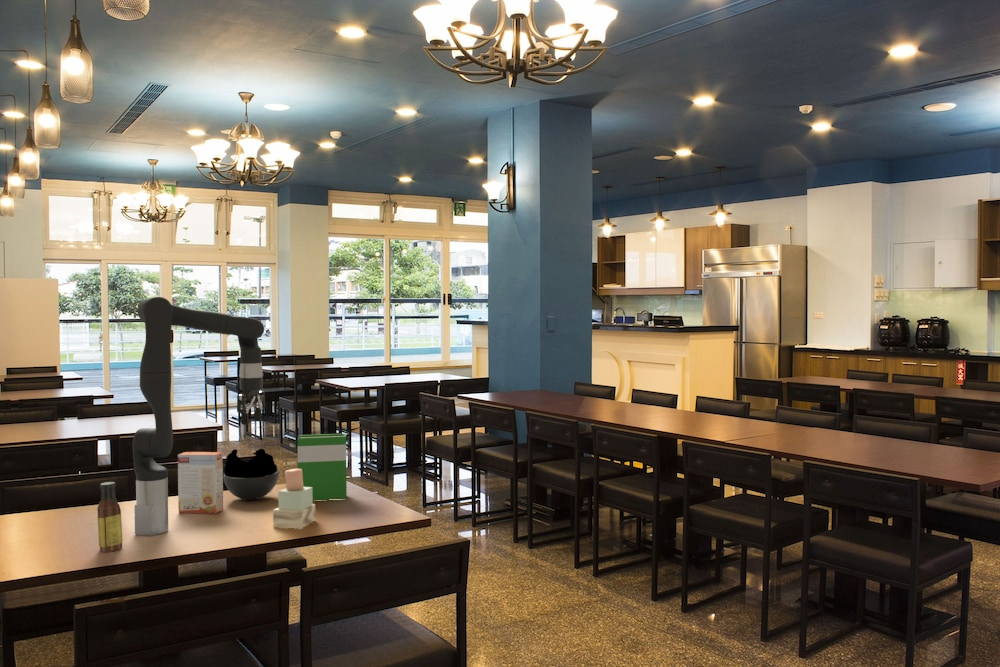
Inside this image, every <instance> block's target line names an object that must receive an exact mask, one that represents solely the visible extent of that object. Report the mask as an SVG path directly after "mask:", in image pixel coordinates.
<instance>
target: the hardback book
mask: <svg viewBox="0 0 1000 667" xmlns="http://www.w3.org/2000/svg"><path fill="white" fill-rule="evenodd" d="M297 469H302V475H303V486H304V487H312V496H313V501H314V500H329V499H348V498H347V497H348V496H347V493H348V492H347V490H348V489H347V488H348V487H347V433H328V434H327V433H325V434H322V433H320V434H300V435H299V434H298V435H297Z"/></svg>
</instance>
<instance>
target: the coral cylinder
mask: <svg viewBox="0 0 1000 667" xmlns="http://www.w3.org/2000/svg"><path fill="white" fill-rule="evenodd" d="M284 477H285V488H286V490H289V491H293V490H299V489H302V488H304V486H303V475H302V469H298V468H292V469H291V468H290V469H288V470H287V469H286V470H285V471H284Z"/></svg>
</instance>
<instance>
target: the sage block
mask: <svg viewBox="0 0 1000 667" xmlns="http://www.w3.org/2000/svg"><path fill="white" fill-rule="evenodd" d="M313 504H314V502H313V496H312V487H304V488H302V489H299V490H293V491H289V490H286V487H285V488H283V489H279V490H278V507H279V510H294V511H302V510H304V509H306V508H308V507H310V506H312V505H313Z"/></svg>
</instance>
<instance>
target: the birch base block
mask: <svg viewBox="0 0 1000 667" xmlns="http://www.w3.org/2000/svg"><path fill="white" fill-rule="evenodd" d="M272 513H273V514H272V517H273V518H272V522H273V524H272V527H278V528H277V529H288V528H295V529H294V530H303V529H304V528H303V527H305V526H306V527H308V526H309V525H308V524H310V523H312V522H313V521H315V522H316V504H315V503H313V505H312V506H310V507H308V508H306V509H304V510H302V511H294V510H279V506H278V507H275V508H274V509H273V510H272ZM313 523H314V522H313ZM313 523H312V524H313ZM307 525H308V526H307ZM310 525H311V524H310ZM306 527H305V528H306ZM296 528H298V529H296ZM302 528H303V529H302Z"/></svg>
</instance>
